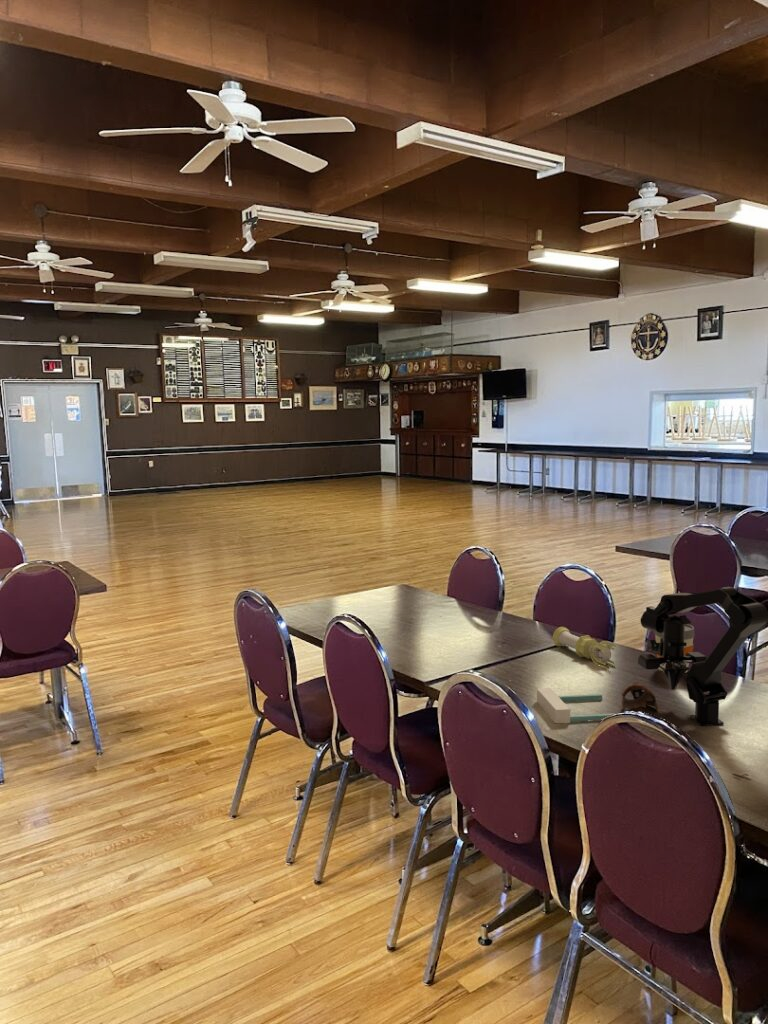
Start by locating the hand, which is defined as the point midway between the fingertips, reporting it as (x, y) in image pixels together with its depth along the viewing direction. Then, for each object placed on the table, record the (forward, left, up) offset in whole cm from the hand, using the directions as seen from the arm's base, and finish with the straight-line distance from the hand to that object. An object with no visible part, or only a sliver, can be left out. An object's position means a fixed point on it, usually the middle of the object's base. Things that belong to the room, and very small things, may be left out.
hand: (672, 689), depth 213 cm
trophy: (+49, +7, -6) cm, 50 cm away
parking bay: (0, +28, -5) cm, 28 cm away
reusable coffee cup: (+30, -16, -5) cm, 34 cm away
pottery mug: (0, +10, -5) cm, 11 cm away
